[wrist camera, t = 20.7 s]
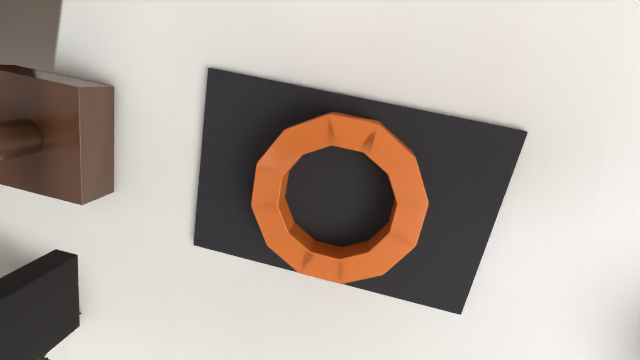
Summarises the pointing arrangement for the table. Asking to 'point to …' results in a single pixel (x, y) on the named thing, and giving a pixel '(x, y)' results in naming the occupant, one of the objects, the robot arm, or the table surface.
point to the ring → (326, 257)
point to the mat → (354, 183)
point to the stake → (56, 135)
